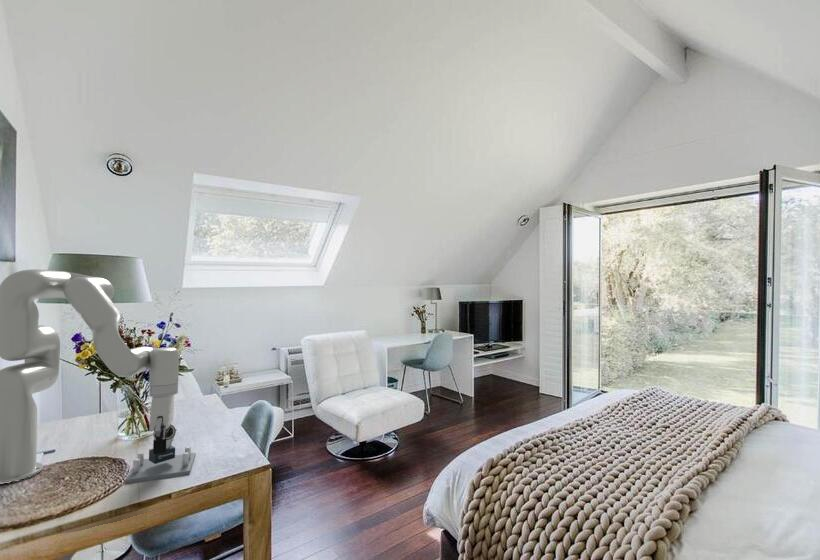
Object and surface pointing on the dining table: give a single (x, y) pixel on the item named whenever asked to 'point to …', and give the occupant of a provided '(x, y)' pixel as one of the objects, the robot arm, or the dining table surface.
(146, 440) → the dining table surface
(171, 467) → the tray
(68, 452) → the dining table surface
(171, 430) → the watch
